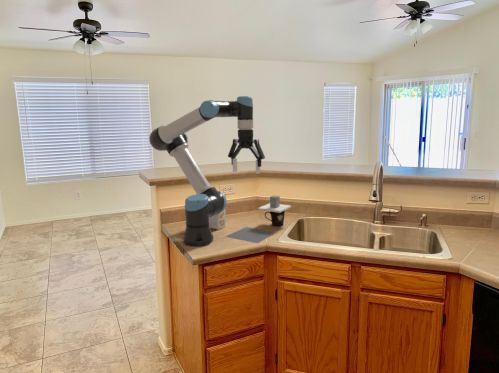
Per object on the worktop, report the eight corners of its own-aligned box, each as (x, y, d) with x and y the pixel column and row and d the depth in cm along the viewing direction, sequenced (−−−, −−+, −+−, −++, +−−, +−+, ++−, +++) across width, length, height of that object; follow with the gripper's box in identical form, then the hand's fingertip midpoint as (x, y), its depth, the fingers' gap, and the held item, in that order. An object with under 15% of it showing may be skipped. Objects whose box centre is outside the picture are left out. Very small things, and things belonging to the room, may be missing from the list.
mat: (225, 237, 191) (225, 236, 191) (246, 227, 208) (246, 226, 208) (257, 243, 181) (257, 243, 181) (277, 232, 197) (277, 232, 197)
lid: (258, 209, 207) (257, 197, 206) (270, 204, 219) (270, 193, 218) (280, 212, 200) (279, 200, 199) (291, 207, 212) (291, 195, 210)
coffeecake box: (225, 227, 208) (226, 193, 206) (217, 230, 203) (218, 195, 200) (205, 223, 217) (206, 191, 214) (197, 225, 211) (197, 192, 208)
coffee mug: (285, 223, 215) (285, 206, 213) (285, 227, 207) (285, 210, 205) (265, 222, 216) (265, 206, 214) (264, 227, 208) (264, 210, 206)
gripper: (271, 128, 174) (271, 173, 177) (229, 128, 187) (230, 169, 191) (263, 129, 167) (264, 175, 171) (220, 129, 181) (221, 171, 185)
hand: (246, 172), depth 181 cm, fingers open, 13 cm apart
